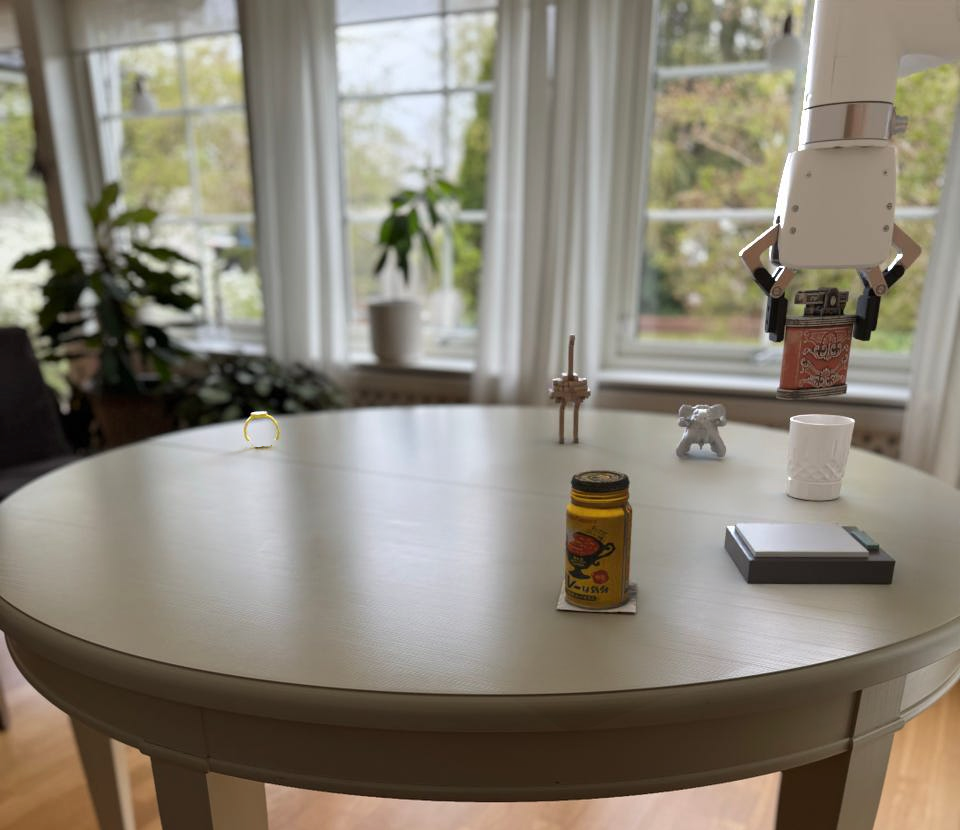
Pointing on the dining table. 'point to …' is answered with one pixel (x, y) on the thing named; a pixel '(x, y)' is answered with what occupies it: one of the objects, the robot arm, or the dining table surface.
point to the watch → (260, 415)
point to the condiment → (598, 545)
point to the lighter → (817, 346)
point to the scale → (807, 554)
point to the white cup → (817, 455)
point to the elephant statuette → (701, 428)
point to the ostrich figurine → (569, 392)
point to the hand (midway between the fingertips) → (818, 339)
